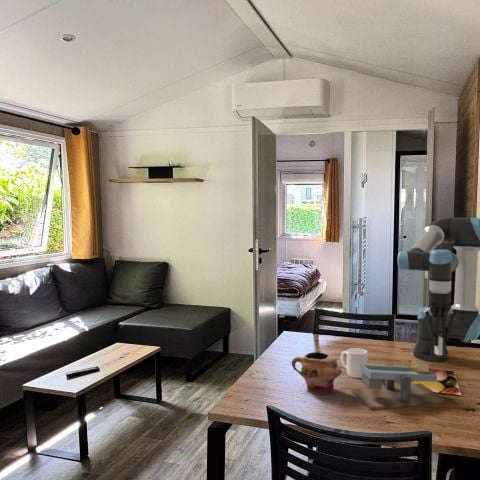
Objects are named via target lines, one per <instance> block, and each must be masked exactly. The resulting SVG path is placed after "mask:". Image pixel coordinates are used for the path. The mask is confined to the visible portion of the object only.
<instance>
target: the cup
mask: <svg viewBox="0 0 480 480" xmlns="http://www.w3.org/2000/svg"><path fill="white" fill-rule="evenodd" d="M344 355H346V364H345V363H344ZM339 358H340V359H339V360H340V364H341V366H342V367H343V368H345V369H346V375H347V376H348V377H351V378H354V379H362V372H361V371H360V365H361V364H368V350H366V349H364V348H359V347H358V348H357V347H353V348H348V349H346V351H345V350H344V351H341V353H340V357H339Z"/></svg>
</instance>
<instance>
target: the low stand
mask: <svg viewBox="0 0 480 480" xmlns="http://www.w3.org/2000/svg"><path fill="white" fill-rule="evenodd" d="M386 365H387V366H395V365H394V364H386ZM351 393H352V394H353V395H354V396H355V397H356V398H357V399H358V400H359V401H361V402H362V404H364V405H365V406H366V407H367V408H368V410H370V411H372V410H381V409H382V410H383V409H393V408H402V407H414V406H421V405H434V404H442V403H447V400H446V398H444V397H443V396H441V395H440V394H438V393H437V392H435V391H434V390H432V389H430V388H429V387H428V386H426V385H424V384H423V383H420V382H419V383H418V382H417V383H412V381H411V377H410V376H409V375H406V376H401V383H400V384H397V385H396V384H395V380H386V379H384V386H382V387H381V389H372V388H367V387H362V388H353V389H351Z"/></svg>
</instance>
